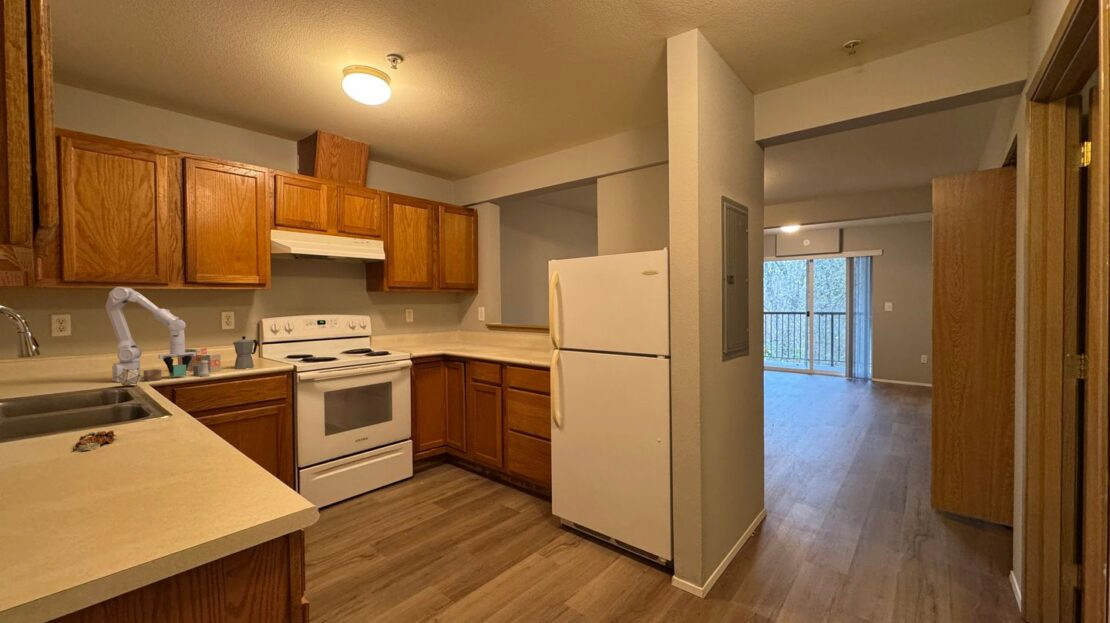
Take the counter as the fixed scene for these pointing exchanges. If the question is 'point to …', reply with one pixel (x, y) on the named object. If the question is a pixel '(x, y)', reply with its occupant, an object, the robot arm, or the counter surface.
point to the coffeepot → (244, 353)
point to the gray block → (198, 369)
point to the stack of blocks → (202, 355)
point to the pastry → (93, 441)
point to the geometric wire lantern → (130, 377)
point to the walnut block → (152, 375)
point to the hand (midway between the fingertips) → (177, 372)
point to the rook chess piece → (204, 369)
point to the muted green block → (178, 370)
